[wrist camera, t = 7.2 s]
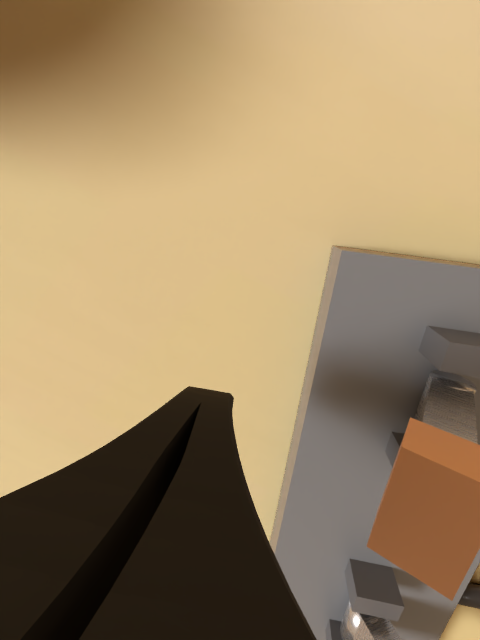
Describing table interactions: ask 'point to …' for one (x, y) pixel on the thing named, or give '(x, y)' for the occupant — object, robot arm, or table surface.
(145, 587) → the robot arm
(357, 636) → the lever
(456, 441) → the lever
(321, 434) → the breaker block
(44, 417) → the table surface
